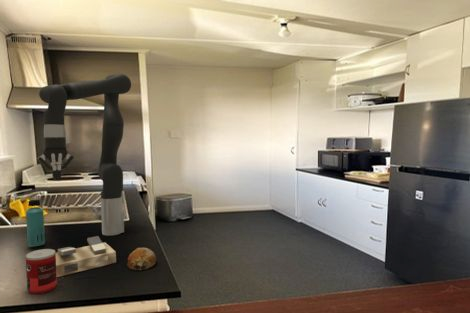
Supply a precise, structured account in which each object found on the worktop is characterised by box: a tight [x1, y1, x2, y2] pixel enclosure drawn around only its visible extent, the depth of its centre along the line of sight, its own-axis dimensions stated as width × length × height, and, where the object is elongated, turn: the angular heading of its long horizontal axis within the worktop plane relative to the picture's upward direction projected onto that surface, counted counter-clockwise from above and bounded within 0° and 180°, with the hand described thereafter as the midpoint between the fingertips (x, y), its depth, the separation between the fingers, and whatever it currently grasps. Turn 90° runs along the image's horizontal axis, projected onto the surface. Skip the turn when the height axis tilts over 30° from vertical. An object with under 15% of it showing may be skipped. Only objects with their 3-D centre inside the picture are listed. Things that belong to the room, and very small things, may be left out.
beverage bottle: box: [25, 199, 46, 247], centre depth 132 cm, size 6×7×20 cm
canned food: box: [25, 248, 58, 295], centre depth 98 cm, size 8×8×11 cm
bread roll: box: [126, 247, 157, 271], centre depth 115 cm, size 10×10×8 cm
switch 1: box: [57, 246, 76, 256], centre depth 113 cm, size 4×10×2 cm, turn 38°
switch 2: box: [86, 235, 106, 254], centre depth 119 cm, size 4×10×2 cm, turn 38°
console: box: [55, 242, 117, 278], centre depth 116 cm, size 20×13×4 cm, turn 128°
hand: (56, 179), depth 127 cm, fingers closed
